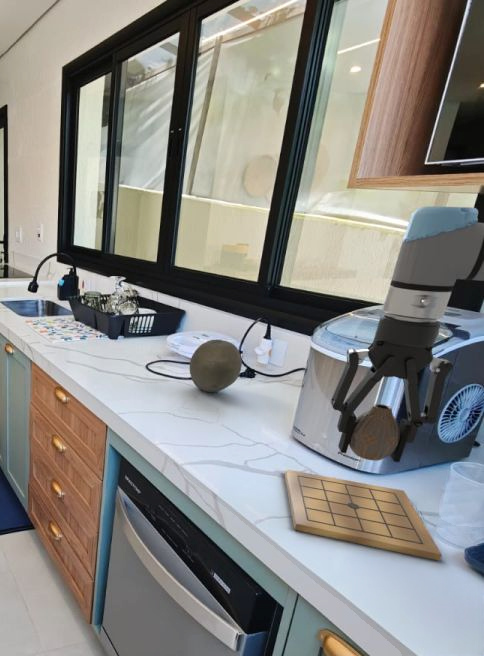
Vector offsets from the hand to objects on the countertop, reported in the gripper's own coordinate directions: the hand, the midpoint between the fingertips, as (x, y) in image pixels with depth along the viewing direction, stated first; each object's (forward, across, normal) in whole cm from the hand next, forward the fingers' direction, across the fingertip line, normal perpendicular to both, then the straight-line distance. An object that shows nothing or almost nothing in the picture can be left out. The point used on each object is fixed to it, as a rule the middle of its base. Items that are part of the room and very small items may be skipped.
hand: (367, 453), depth 84 cm
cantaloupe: (+11, -26, +55) cm, 62 cm away
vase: (0, 0, 0) cm, 0 cm away
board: (+11, 0, 0) cm, 11 cm away
